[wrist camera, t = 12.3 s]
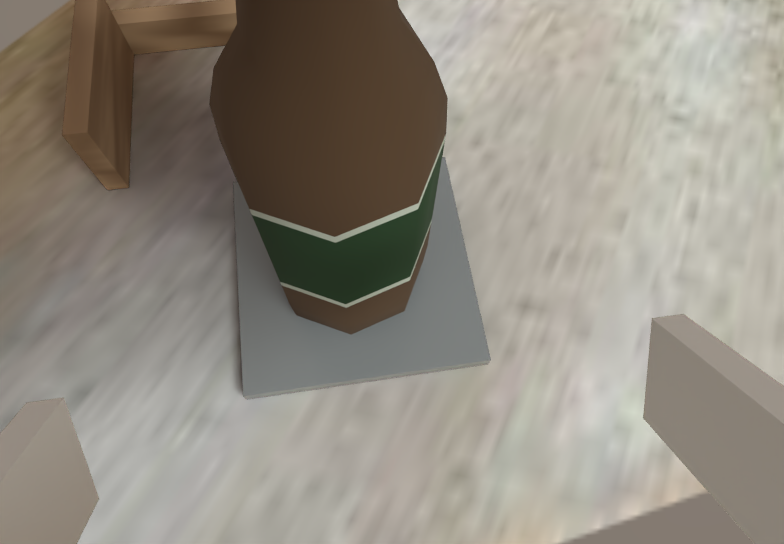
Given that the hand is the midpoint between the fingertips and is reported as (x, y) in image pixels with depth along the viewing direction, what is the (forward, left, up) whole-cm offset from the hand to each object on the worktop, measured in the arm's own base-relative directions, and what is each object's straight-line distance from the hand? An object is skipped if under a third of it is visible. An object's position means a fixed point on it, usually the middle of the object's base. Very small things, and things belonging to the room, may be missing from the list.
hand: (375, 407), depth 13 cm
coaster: (0, -10, -15) cm, 18 cm away
